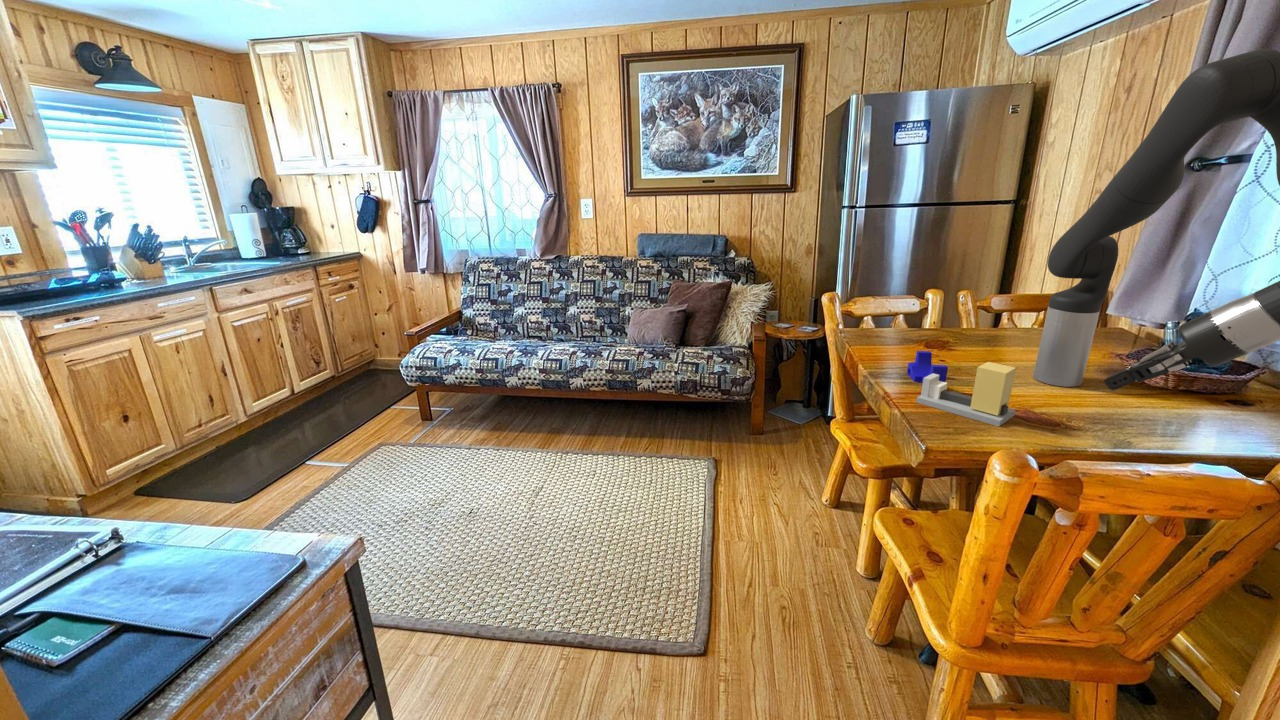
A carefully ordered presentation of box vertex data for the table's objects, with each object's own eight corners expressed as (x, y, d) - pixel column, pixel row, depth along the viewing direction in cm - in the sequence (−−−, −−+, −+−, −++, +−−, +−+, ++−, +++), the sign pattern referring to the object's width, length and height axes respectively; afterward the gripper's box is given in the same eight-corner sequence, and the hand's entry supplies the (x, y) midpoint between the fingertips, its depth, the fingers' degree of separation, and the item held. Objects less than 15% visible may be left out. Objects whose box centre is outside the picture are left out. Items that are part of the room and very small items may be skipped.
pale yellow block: (980, 401, 113) (988, 361, 110) (1007, 409, 109) (1016, 367, 106) (970, 408, 110) (977, 367, 107) (997, 415, 106) (1006, 373, 104)
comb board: (933, 393, 122) (936, 371, 120) (1014, 415, 110) (1019, 391, 108) (916, 402, 117) (919, 379, 115) (998, 426, 105) (1003, 401, 103)
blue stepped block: (906, 373, 134) (910, 350, 133) (926, 374, 134) (929, 351, 132) (922, 391, 123) (926, 366, 121) (943, 392, 123) (948, 367, 121)
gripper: (1219, 303, 86) (1103, 358, 99) (1206, 317, 78) (1081, 375, 91) (1258, 342, 84) (1133, 394, 97) (1247, 360, 76) (1113, 414, 89)
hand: (1108, 384), depth 94 cm, fingers closed
